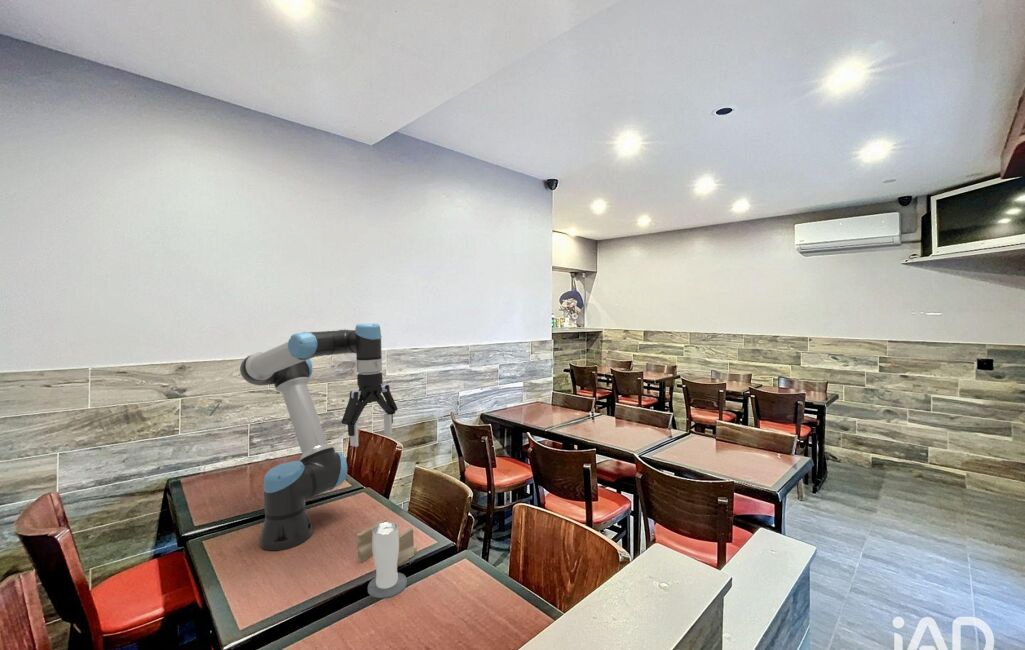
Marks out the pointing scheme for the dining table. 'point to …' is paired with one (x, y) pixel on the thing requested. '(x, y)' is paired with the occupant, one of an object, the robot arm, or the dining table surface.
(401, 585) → the coaster
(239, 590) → the dining table surface
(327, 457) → the robot arm
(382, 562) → the beer glass
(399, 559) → the rack
